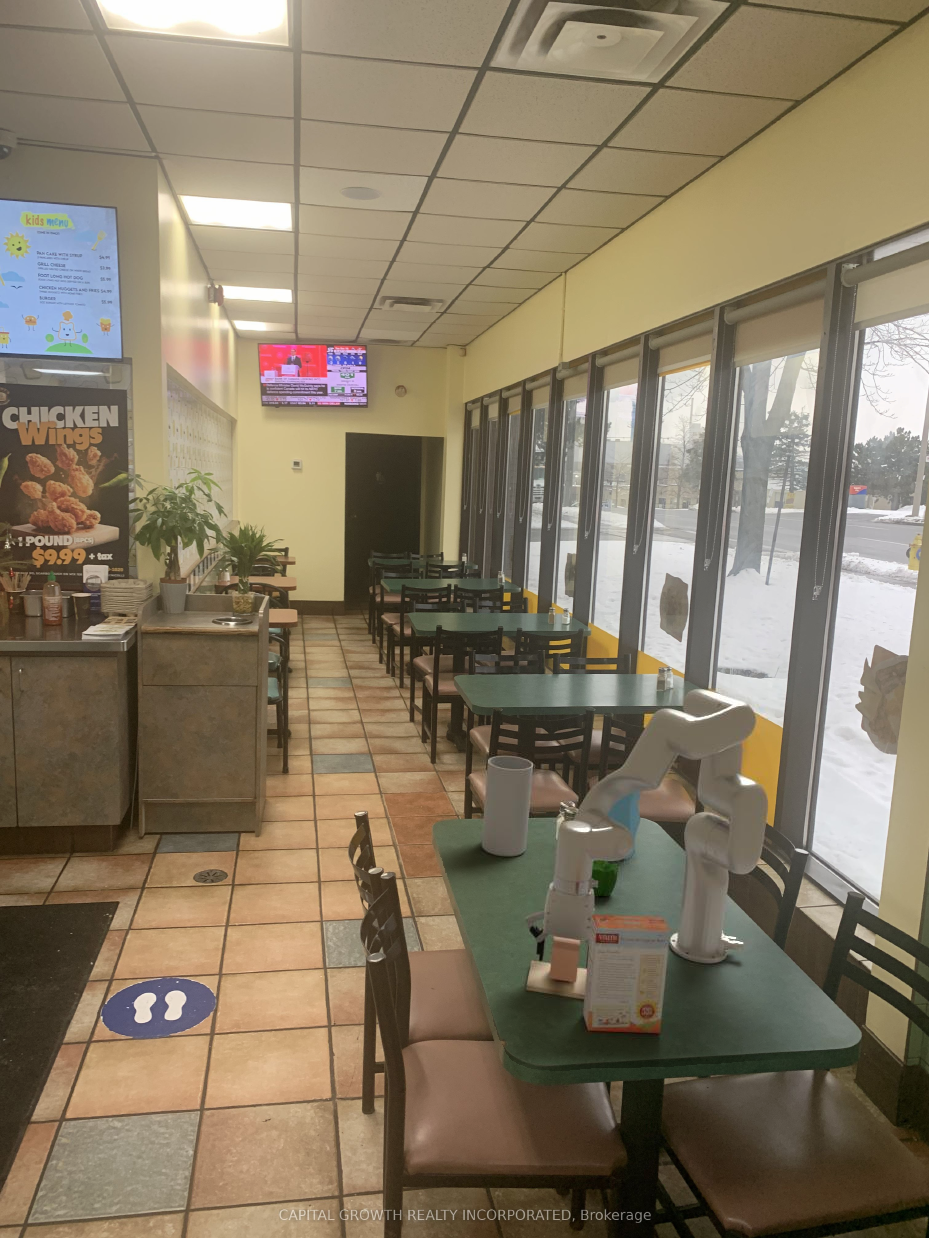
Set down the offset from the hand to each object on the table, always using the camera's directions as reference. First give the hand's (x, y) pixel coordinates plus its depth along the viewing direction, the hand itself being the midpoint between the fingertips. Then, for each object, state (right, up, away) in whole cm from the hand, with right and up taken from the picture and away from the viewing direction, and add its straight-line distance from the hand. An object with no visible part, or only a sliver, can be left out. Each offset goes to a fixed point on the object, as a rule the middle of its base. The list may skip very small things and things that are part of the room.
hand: (564, 961), depth 183 cm
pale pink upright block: (0, -3, 0) cm, 3 cm away
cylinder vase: (-10, +6, +68) cm, 68 cm away
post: (0, -5, +1) cm, 5 cm away
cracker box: (+9, -7, -12) cm, 17 cm away
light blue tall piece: (+23, +4, +71) cm, 75 cm away
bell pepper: (+13, 0, +44) cm, 46 cm away
